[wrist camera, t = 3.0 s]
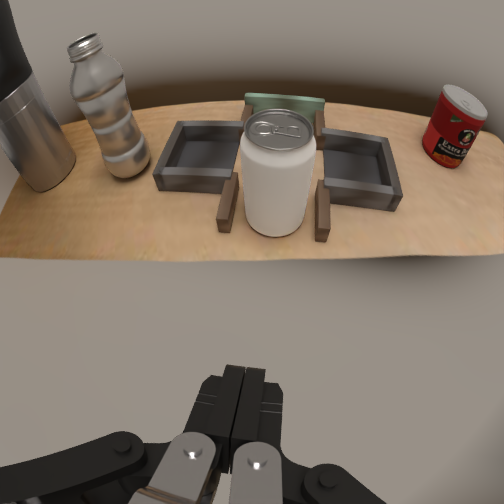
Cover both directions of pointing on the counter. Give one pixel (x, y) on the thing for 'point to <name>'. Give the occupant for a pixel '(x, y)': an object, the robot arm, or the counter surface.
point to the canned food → (453, 126)
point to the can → (276, 170)
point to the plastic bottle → (107, 107)
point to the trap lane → (329, 140)
